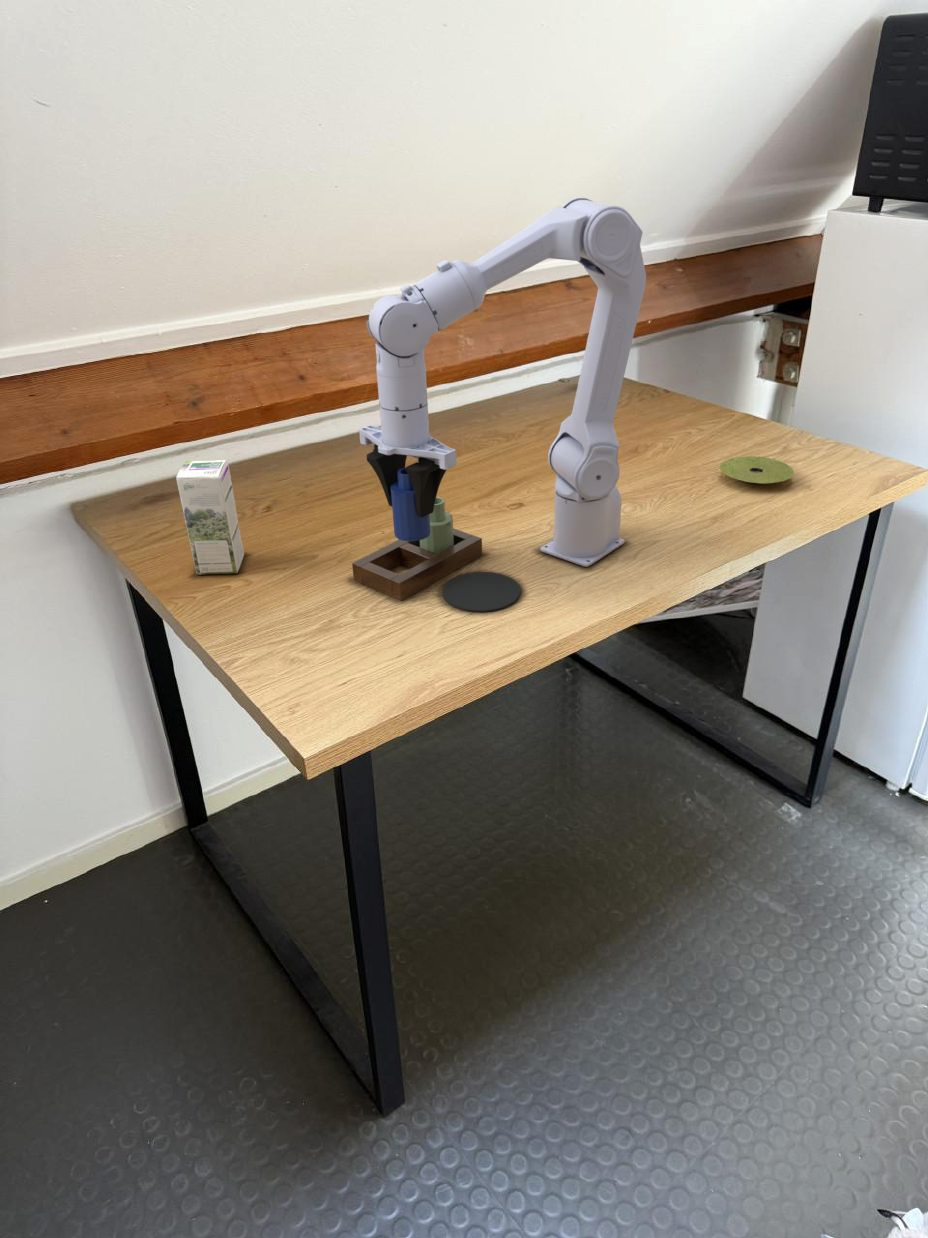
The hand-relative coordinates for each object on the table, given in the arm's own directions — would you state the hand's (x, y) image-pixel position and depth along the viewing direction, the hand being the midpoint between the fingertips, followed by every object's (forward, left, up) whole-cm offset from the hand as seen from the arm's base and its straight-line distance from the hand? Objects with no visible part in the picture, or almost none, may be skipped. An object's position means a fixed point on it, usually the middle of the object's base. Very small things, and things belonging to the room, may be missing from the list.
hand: (410, 508), depth 114 cm
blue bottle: (0, 0, -3) cm, 3 cm away
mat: (-57, +20, -10) cm, 62 cm away
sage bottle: (-6, -2, -10) cm, 12 cm away
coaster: (-3, +9, -10) cm, 14 cm away
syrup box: (+14, -24, -10) cm, 30 cm away
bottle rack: (-3, -2, -10) cm, 11 cm away
